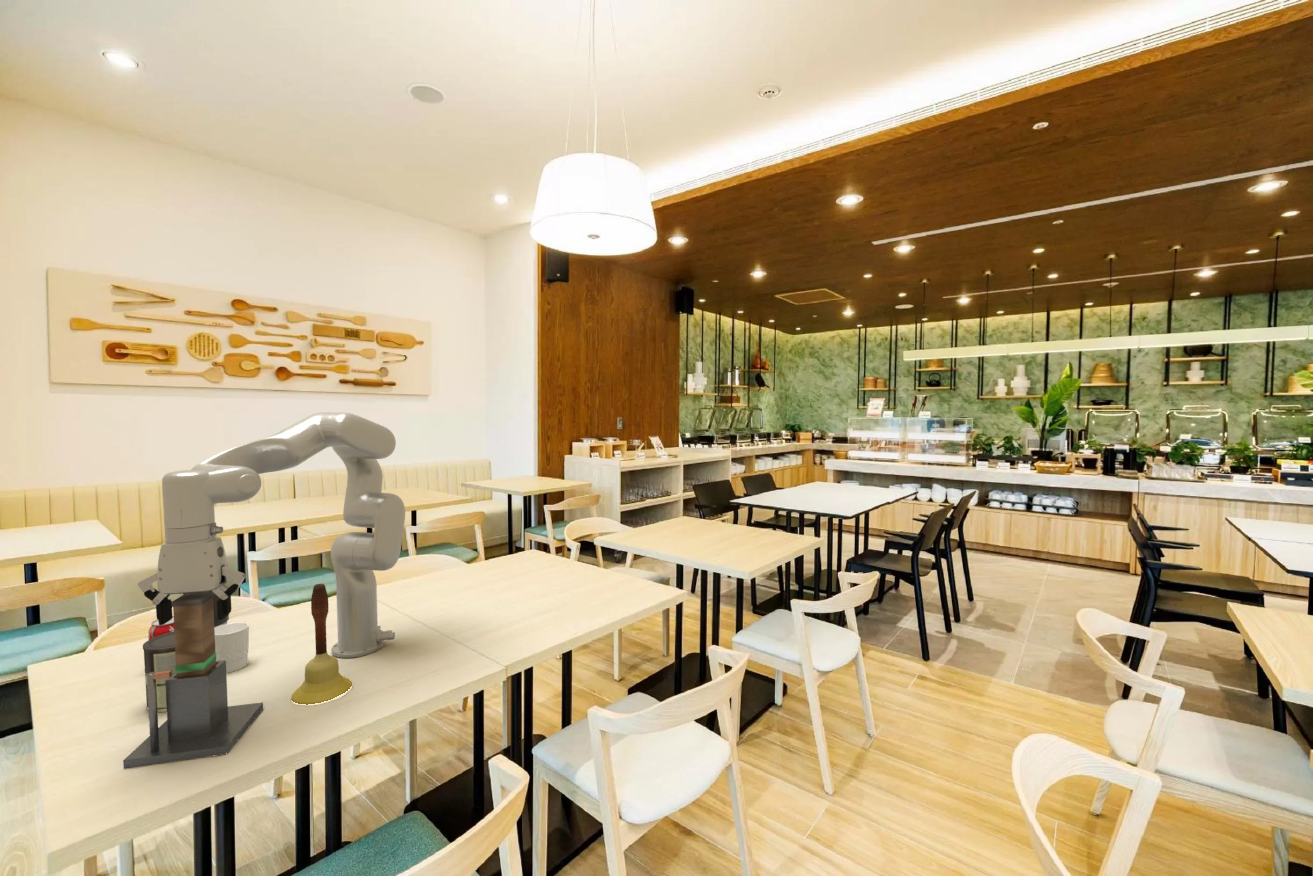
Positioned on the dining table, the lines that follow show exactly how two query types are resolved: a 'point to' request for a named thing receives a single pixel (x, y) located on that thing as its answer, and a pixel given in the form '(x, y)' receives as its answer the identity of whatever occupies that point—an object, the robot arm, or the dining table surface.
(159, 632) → the soda can
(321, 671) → the handbell
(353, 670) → the dining table surface
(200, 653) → the walnut post
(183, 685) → the steel stand
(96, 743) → the dining table surface
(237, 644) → the white cup
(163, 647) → the coffee can
